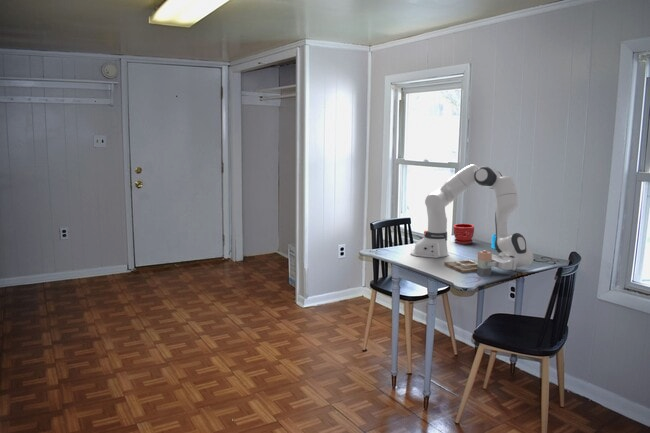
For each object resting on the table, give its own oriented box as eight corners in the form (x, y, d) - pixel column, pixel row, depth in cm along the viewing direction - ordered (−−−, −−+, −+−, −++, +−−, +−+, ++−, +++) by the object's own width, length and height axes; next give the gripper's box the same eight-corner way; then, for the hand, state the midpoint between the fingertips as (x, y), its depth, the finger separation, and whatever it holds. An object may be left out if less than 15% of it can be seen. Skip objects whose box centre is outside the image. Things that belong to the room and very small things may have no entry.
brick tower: (477, 273, 273) (478, 250, 270) (485, 272, 274) (486, 249, 272) (482, 276, 268) (483, 252, 266) (490, 275, 269) (492, 251, 267)
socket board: (444, 264, 291) (444, 260, 290) (471, 262, 296) (471, 257, 296) (462, 273, 274) (462, 268, 273) (491, 269, 280) (491, 265, 279)
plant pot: (451, 240, 353) (452, 223, 351) (471, 240, 351) (472, 223, 349) (454, 244, 340) (455, 227, 338) (475, 245, 339) (475, 227, 337)
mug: (493, 249, 326) (494, 237, 325) (489, 246, 334) (490, 234, 333) (512, 249, 326) (513, 236, 325) (508, 246, 334) (509, 234, 333)
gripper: (493, 250, 283) (471, 252, 279) (518, 258, 264) (495, 261, 260) (492, 261, 284) (471, 263, 280) (517, 270, 265) (495, 273, 261)
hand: (483, 262), depth 270 cm, fingers closed on brick tower, 5 cm apart
